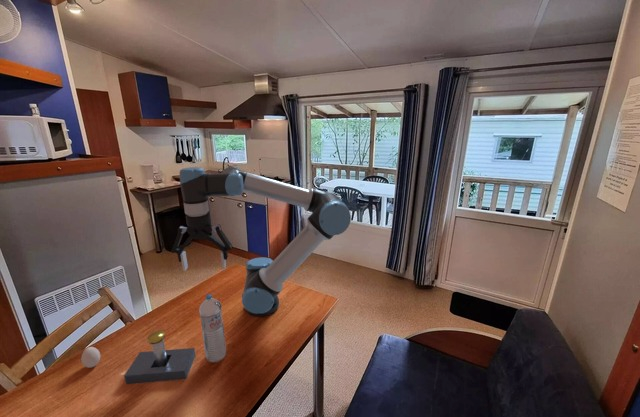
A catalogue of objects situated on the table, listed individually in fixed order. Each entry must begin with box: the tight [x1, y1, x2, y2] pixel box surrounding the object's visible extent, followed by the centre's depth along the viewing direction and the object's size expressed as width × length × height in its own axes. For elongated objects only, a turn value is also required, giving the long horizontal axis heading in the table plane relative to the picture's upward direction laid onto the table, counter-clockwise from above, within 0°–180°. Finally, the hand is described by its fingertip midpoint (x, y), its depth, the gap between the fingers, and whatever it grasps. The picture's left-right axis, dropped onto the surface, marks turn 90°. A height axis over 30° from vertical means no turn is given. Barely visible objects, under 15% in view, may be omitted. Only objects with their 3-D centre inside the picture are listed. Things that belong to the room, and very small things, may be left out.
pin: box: [147, 329, 168, 367], centre depth 85 cm, size 5×5×14 cm
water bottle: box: [198, 294, 227, 364], centre depth 89 cm, size 7×7×25 cm
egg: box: [80, 346, 101, 369], centre depth 87 cm, size 5×5×7 cm
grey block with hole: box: [123, 347, 197, 385], centre depth 86 cm, size 18×9×4 cm, turn 97°
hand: (205, 268), depth 95 cm, fingers open, 13 cm apart
